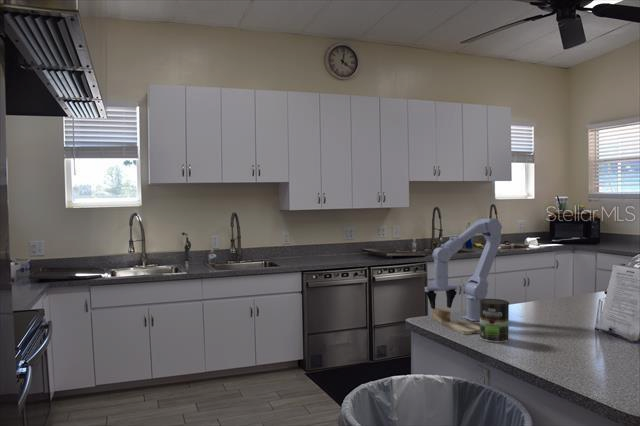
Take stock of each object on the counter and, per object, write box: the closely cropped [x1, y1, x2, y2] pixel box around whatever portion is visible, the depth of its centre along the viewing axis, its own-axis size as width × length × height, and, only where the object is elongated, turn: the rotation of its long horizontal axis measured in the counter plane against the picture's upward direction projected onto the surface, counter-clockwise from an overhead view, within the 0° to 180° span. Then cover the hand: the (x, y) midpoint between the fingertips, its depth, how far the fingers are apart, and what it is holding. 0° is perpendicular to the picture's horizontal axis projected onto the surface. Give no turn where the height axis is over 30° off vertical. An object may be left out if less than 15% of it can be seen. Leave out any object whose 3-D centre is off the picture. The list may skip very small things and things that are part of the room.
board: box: [441, 319, 480, 335], centre depth 203 cm, size 12×16×1 cm
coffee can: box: [479, 298, 510, 344], centre depth 187 cm, size 10×10×14 cm
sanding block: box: [432, 307, 451, 325], centre depth 216 cm, size 4×8×5 cm, turn 15°
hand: (441, 307), depth 216 cm, fingers open, 7 cm apart
